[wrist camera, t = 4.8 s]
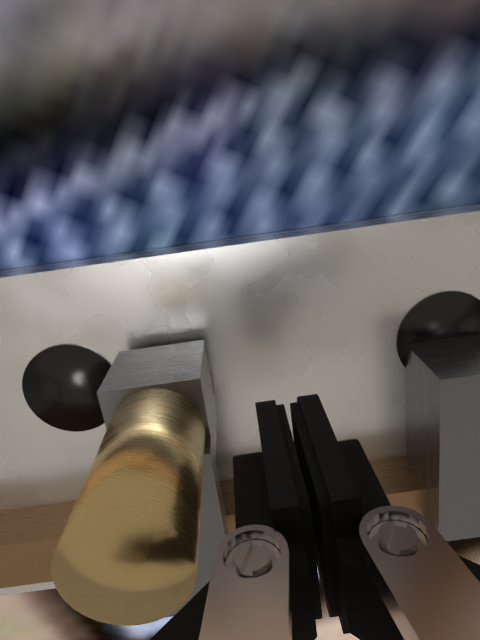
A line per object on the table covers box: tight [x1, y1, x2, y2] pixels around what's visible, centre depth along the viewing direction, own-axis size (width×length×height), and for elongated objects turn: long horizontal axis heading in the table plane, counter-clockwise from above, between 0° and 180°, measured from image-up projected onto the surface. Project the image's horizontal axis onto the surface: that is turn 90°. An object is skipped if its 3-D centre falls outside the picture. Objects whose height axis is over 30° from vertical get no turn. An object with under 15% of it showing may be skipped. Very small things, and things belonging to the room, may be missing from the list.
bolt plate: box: [0, 204, 480, 595], centre depth 17 cm, size 25×14×4 cm, turn 98°
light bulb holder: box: [51, 340, 229, 625], centre depth 14 cm, size 3×8×8 cm, turn 8°
